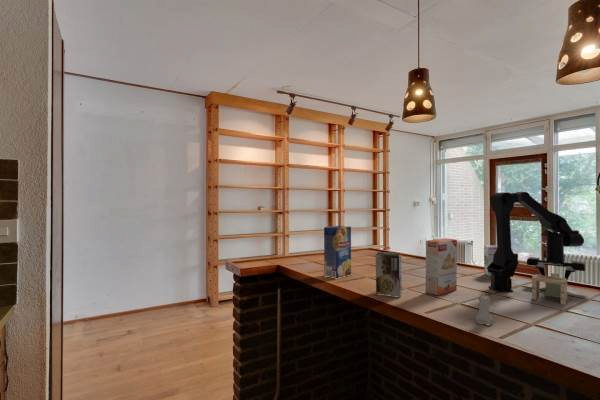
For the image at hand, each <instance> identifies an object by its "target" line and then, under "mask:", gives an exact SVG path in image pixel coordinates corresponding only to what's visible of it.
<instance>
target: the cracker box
mask: <svg viewBox="0 0 600 400" xmlns="http://www.w3.org/2000/svg"><path fill="white" fill-rule="evenodd" d="M457 263H458V240H457V239H455V238H439V239H438V238H436V239H429V240H425V293H427V294H430V295H433V294H434V296H442V295H444V294H448V293H451V292H455V291H457V289H458V288H457V286H458V285H457V282H458V281H457V279H458V278H457V272H458V271H457V269H458V268H457V267H458V266H457V265H458V264H457Z"/></svg>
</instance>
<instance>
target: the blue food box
mask: <svg viewBox="0 0 600 400" xmlns="http://www.w3.org/2000/svg"><path fill="white" fill-rule="evenodd" d="M323 228H324V229H323V250H324V251H323V253H324V255H323V262H324V263H323V266H324V268H323V269H324V271H323V275H325V276H329V277H334V278H339V277H343V276H347V275H350V274H351V275H352V226H347V225H346V226H344V225H334V226H324V227H323ZM351 275H350V276H351ZM347 277H348V276H347Z"/></svg>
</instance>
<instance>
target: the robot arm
mask: <svg viewBox="0 0 600 400" xmlns="http://www.w3.org/2000/svg"><path fill="white" fill-rule="evenodd" d="M489 200H490V201H489V203H490V206H491V208H492V211H493V212H494V213H495V214H494V215H495V228H496V244H497V245H496V246H497V250H496V252H495V254H494V258H493V262H492V263H491V264H490V265H489V266H488V267H487V270H488V272H489V273H491V277H490V285H488V288H489V289H492V290H494V291H496V292H514V289H512V288H513V287H512V286H513V285H512V284H513V283H512V280H513V279H512V277H514V275H515V272H516V270H517V269H518V265H519V264H520V263H519V254H518V253H516V252H515V253H514V251H513V249H512V240H511V239H512V236H511V235H512V232H511V213H512V211H513V209H514V206H515V204H517V203H519V205H521V206H523V208H525V209H526V210H527V211H529V212H530V213H531V214H532V215H534V216H535V217H536V218H537V219H538V221H539V223H540V224H541V227H543V228H544V229H545V230H544V232H542V233H541V234H540V235H541V236H543V237H545V243H546V245H545V248H546V249H545V250H543V258H544V259H543V260H542V259H540V257H535V256H534V257H532V256H530V257H528V258H527V259H526V265H527V266H533V267H534V268H535V269H538V272H539V273H540V275H543V276H547V270H546V269H547V268H546V266H554V267H562V268H565V270H564V271H565V272H564V277H563V278H566V280H567V281H568V280H569V278H570V276H571V274H572V273H576V271H578V272H579V271H581V272H585V271H586V263H585V262H584V261H576V260H575V261H574V260H573V261H571V262H565V261H566V260H565V258H566V257H565V247H566V248H567V247H570V248H571V247H573V248H574V247H577V248H578V247H582V246H583V245H584V244H585V243H584V242H585V239H584V237H583V235H582V234H581V233H580V230H577V229H576V230H575V229H572V228H571V226H570V225H569V224H568V221H567V219H566V218H565V217H563V216H561V215H559V214H557V213H555V212H552V211H550V210H549V209H548V208H546V207H545V206H544V205H542V204H541V203H540V202H539V201H537V200H536V199H535V198H533V197H532V196H531V194H530V193H529V192H528V191H527V192H526V191H516V192H507V191H505V192H504V191H503V192H494V193H493V194H492V195H491V196H490V197H489ZM544 283H545V284H546V282H544Z"/></svg>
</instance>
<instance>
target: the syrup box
mask: <svg viewBox="0 0 600 400" xmlns="http://www.w3.org/2000/svg"><path fill="white" fill-rule="evenodd" d="M483 250H484V251H483V258H484V260H483V261H484V262H483V263H484V267H483V268H484V269H483V270H484V275H485V276H487V277H490V278H491V273H489V272H488V270H487V267H488V266H489V265H490V264H491V263H492V262H493V258H494V254H495V252H496V250H497V245H493V244H485V245H483Z"/></svg>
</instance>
